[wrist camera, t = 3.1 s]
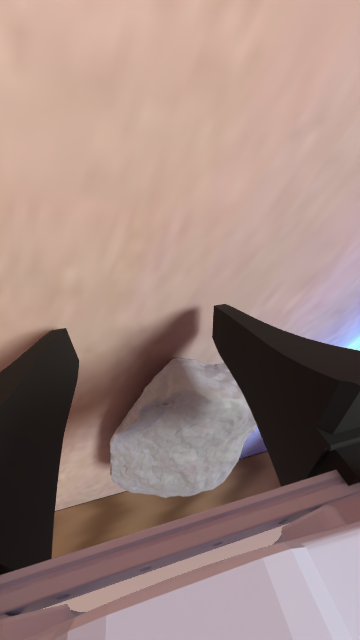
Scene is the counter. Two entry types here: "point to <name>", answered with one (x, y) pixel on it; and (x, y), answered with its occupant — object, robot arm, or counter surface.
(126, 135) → the counter surface
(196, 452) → the stone block
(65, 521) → the walnut wall
